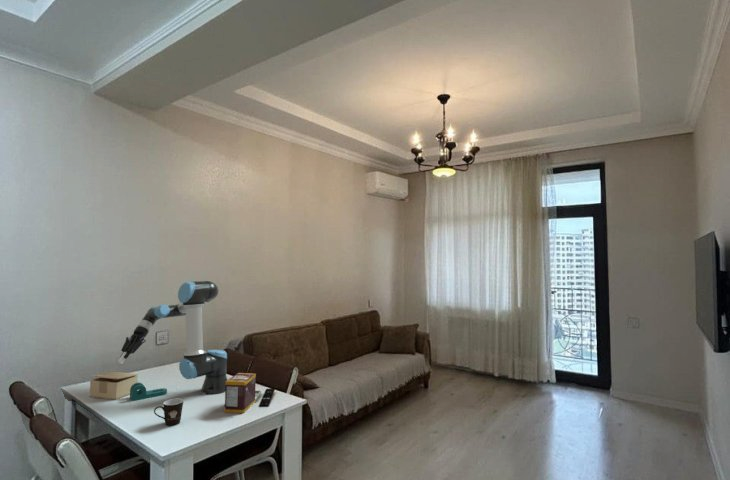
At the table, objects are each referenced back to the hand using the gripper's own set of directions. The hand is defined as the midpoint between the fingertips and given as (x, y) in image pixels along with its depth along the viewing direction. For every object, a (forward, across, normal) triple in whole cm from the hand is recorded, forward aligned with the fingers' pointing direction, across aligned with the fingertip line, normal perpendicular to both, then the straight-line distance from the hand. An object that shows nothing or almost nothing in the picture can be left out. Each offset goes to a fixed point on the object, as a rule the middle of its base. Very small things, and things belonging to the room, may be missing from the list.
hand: (119, 363), depth 223 cm
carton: (+14, 0, -9) cm, 17 cm away
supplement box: (+14, -79, -10) cm, 81 cm away
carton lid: (+7, 0, -2) cm, 7 cm away
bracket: (+13, -21, -12) cm, 28 cm away
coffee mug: (+33, -58, +8) cm, 67 cm away
